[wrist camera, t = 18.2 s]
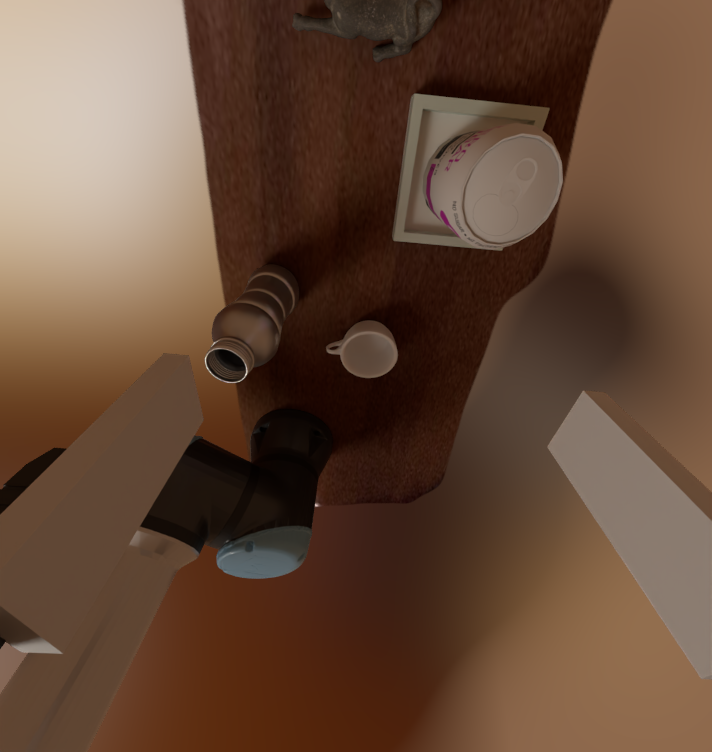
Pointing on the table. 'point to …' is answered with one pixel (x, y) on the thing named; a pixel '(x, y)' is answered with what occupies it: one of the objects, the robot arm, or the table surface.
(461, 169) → the supplement can
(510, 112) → the can tray
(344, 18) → the dog figurine
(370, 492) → the table surface
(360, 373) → the teacup
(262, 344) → the plastic bottle
